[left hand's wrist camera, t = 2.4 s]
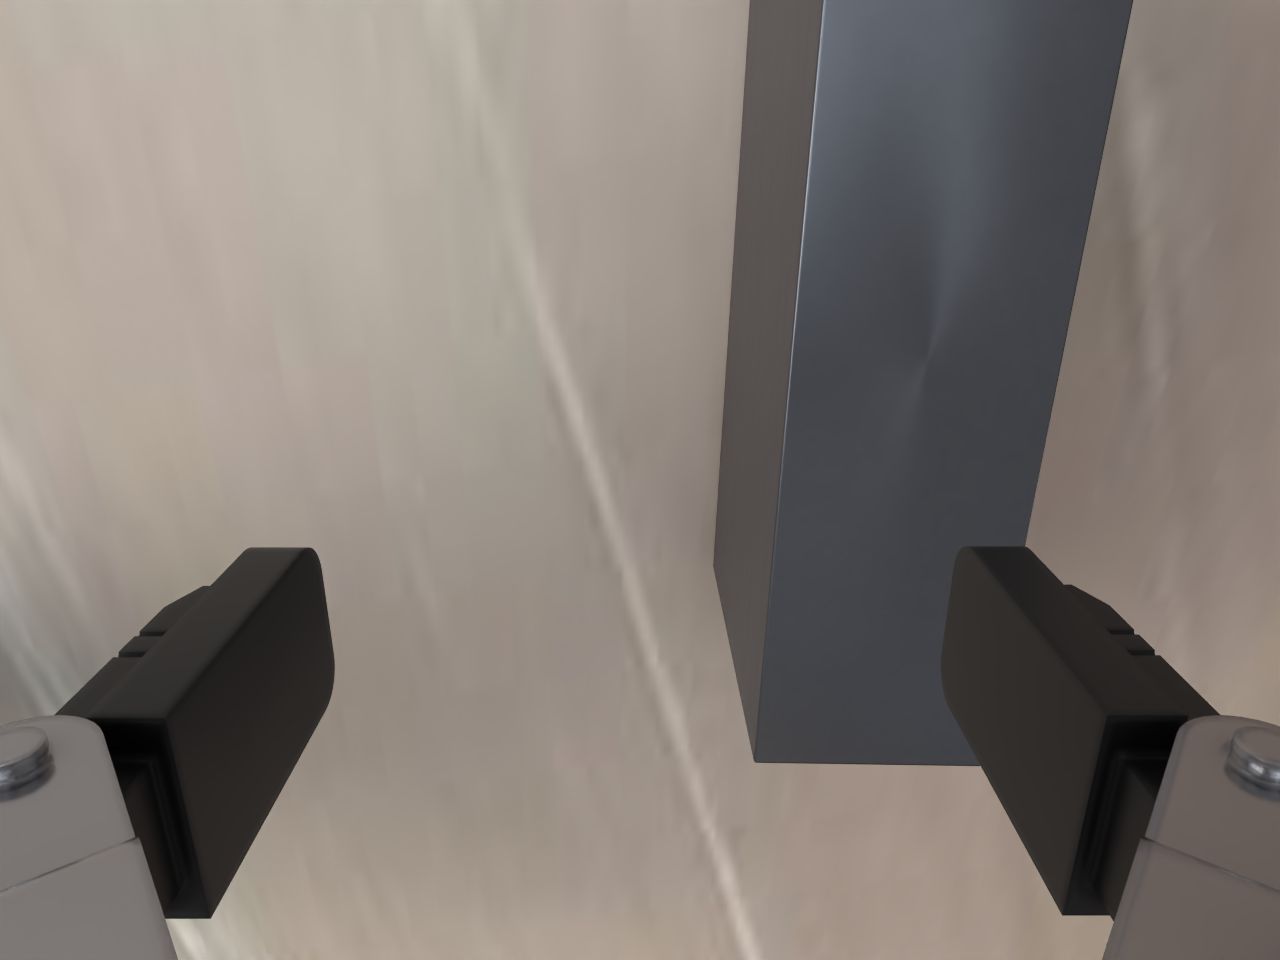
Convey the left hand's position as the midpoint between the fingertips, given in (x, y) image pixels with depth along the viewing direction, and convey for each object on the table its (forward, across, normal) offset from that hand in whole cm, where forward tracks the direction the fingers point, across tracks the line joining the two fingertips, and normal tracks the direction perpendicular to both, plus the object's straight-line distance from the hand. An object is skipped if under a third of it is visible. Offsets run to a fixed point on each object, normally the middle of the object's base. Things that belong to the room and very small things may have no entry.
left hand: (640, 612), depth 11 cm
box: (+22, +6, +1) cm, 23 cm away
